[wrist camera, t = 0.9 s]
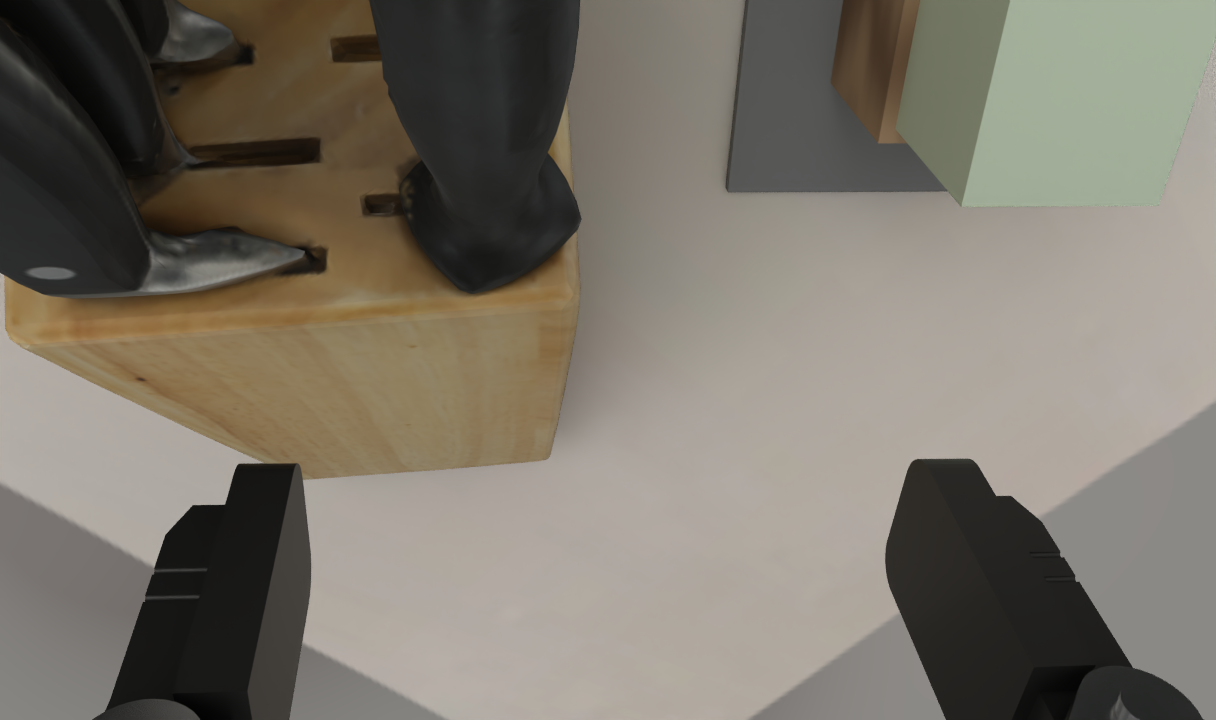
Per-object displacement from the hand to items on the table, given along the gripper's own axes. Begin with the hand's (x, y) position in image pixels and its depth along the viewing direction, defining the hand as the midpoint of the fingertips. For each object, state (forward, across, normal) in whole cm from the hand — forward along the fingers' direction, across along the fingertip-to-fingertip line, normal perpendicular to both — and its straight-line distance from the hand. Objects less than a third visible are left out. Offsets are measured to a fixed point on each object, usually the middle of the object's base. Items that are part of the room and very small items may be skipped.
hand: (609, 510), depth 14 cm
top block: (+23, -15, 0) cm, 27 cm away
